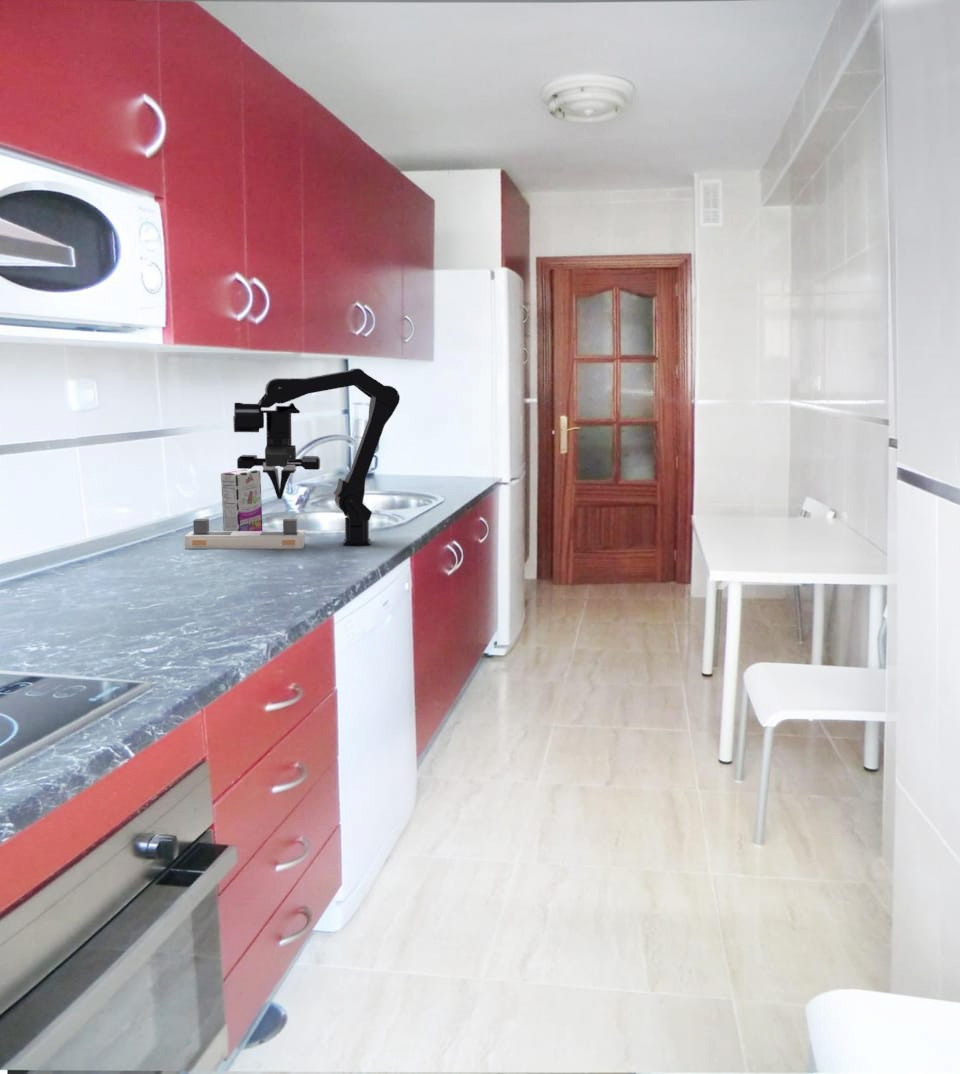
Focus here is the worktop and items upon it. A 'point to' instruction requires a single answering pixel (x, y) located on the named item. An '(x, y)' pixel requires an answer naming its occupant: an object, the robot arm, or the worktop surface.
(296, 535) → the switch bank
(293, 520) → the inner tab
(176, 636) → the worktop surface
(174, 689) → the worktop surface
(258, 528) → the candy bar box
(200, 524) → the outer tab
